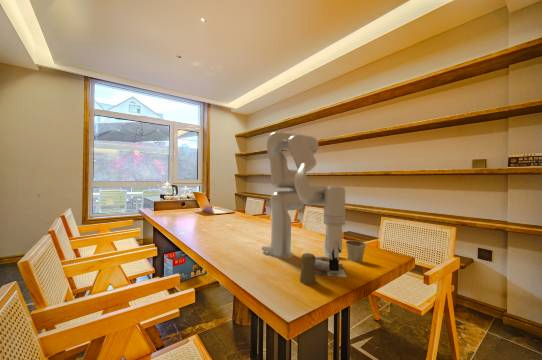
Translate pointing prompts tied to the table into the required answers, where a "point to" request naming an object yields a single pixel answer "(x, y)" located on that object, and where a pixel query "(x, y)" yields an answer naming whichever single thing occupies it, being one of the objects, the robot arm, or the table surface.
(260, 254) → the table surface
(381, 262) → the table surface
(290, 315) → the table surface
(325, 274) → the board
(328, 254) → the shot glass
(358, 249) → the flower pot
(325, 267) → the jaw
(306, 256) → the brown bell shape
